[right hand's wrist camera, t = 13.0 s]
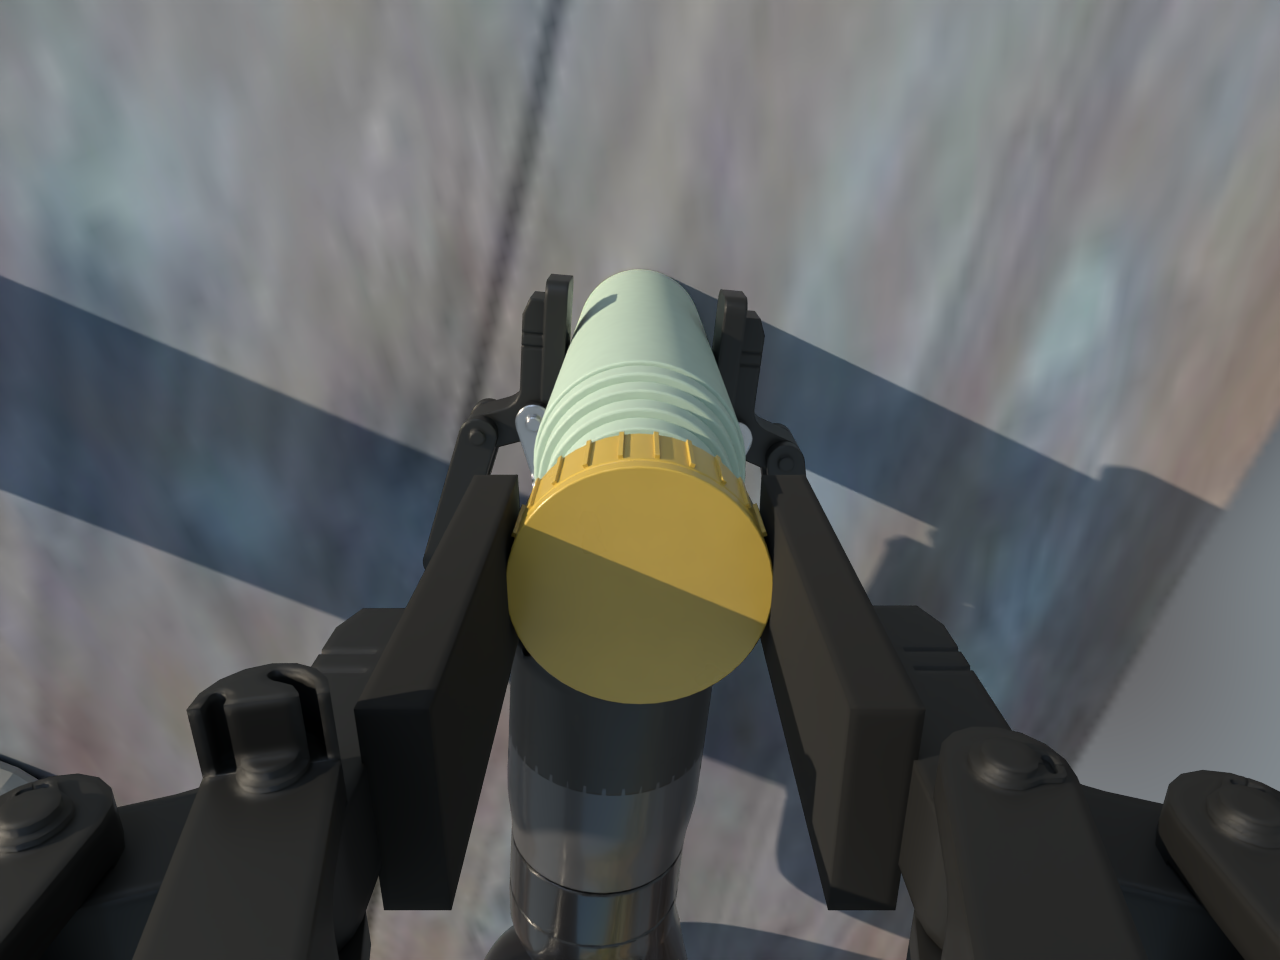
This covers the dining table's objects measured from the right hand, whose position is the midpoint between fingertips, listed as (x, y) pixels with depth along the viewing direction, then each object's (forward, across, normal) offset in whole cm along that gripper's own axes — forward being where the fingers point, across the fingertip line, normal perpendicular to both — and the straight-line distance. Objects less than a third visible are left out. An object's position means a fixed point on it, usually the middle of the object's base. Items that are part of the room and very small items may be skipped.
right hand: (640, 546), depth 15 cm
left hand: (+13, 0, -3) cm, 13 cm away
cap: (-1, 0, 0) cm, 1 cm away
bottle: (+19, 0, 0) cm, 19 cm away
